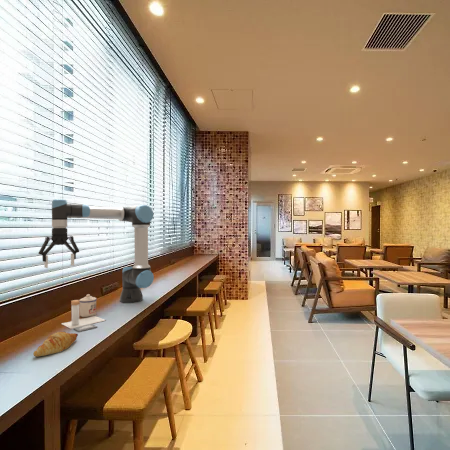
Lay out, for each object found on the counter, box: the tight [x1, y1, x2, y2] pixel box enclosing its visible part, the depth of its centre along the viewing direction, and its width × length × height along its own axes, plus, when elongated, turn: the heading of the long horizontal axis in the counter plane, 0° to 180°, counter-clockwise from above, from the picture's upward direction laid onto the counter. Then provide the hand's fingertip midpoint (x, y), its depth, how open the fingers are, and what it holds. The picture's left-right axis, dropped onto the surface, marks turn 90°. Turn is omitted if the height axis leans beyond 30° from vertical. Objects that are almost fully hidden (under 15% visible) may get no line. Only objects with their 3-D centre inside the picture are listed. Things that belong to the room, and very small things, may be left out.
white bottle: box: [70, 299, 80, 326], centre depth 160 cm, size 4×4×12 cm
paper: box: [61, 315, 107, 330], centre depth 165 cm, size 18×12×1 cm, turn 138°
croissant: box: [33, 331, 79, 358], centre depth 128 cm, size 21×10×8 cm, turn 163°
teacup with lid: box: [79, 293, 98, 318], centre depth 180 cm, size 12×9×12 cm
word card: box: [73, 324, 98, 333], centre depth 154 cm, size 9×6×1 cm, turn 138°
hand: (59, 266), depth 171 cm, fingers open, 13 cm apart
